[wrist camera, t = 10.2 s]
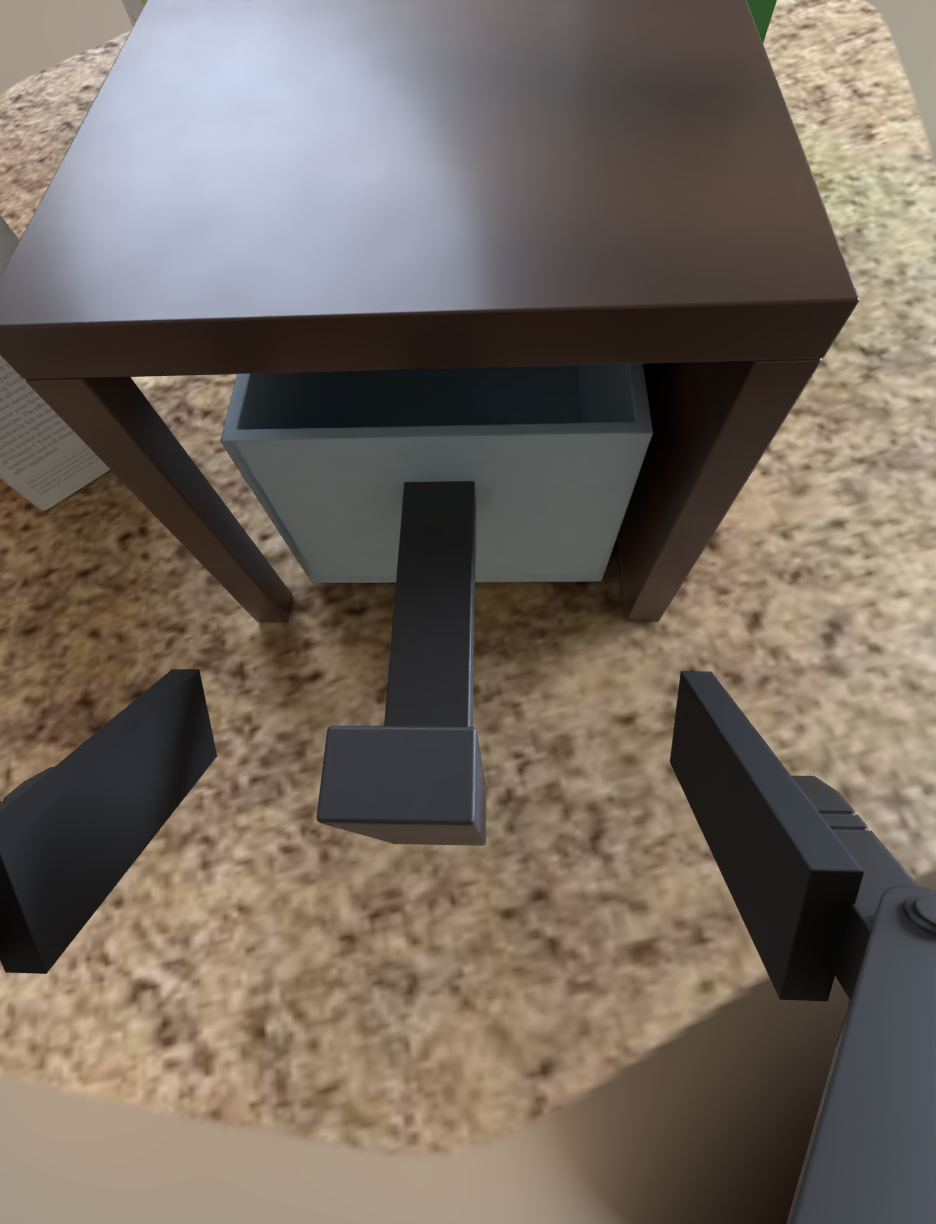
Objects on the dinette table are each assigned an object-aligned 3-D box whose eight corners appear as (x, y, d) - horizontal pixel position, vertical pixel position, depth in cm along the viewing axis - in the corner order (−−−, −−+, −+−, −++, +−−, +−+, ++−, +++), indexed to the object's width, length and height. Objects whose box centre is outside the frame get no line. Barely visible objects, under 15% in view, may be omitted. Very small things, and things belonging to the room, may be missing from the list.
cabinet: (659, 622, 21) (862, 299, 9) (257, 622, 22) (-30, 327, 10) (624, 346, 27) (721, -70, 15) (307, 355, 28) (163, -33, 16)
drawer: (624, 852, 18) (745, 830, 9) (273, 844, 18) (64, 817, 10) (583, 365, 26) (625, 109, 17) (343, 372, 27) (267, 127, 18)
